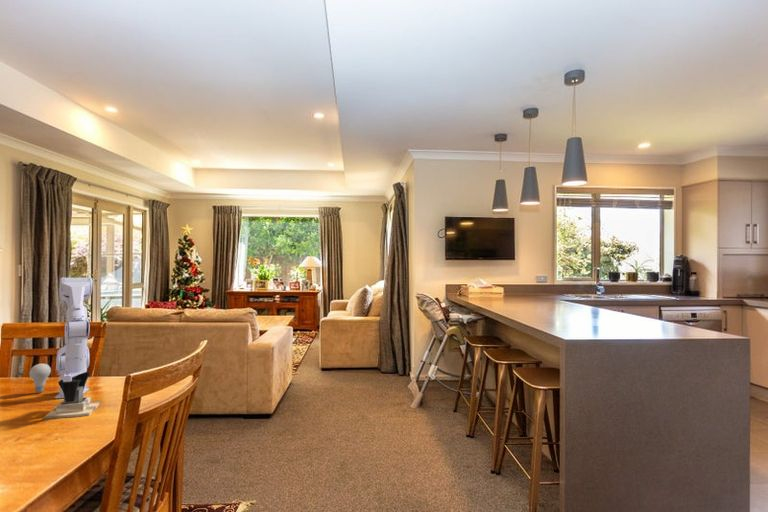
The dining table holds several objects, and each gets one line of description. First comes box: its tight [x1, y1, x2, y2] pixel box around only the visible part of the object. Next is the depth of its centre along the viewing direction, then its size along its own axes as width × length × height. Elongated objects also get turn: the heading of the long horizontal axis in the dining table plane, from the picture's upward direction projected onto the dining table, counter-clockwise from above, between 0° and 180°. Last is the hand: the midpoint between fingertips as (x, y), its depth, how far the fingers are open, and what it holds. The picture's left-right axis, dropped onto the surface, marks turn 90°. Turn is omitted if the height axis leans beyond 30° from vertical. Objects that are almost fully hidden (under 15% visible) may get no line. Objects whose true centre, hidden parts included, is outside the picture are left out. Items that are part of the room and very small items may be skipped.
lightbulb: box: [29, 363, 52, 394], centre depth 151 cm, size 6×6×11 cm
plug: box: [63, 386, 84, 404], centre depth 133 cm, size 4×4×6 cm
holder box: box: [43, 396, 102, 421], centre depth 133 cm, size 12×12×3 cm
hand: (74, 397), depth 133 cm, fingers open, 7 cm apart
